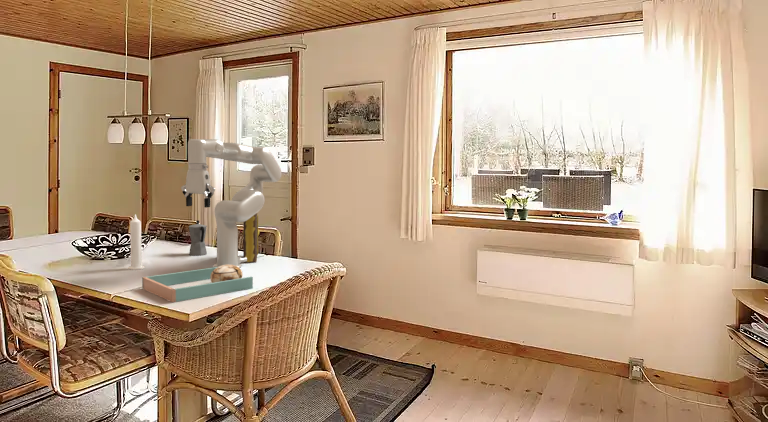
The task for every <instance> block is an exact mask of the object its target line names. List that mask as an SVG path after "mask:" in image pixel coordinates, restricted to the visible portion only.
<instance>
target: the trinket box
mask: <svg viewBox="0 0 768 422" xmlns="http://www.w3.org/2000/svg"><path fill="white" fill-rule="evenodd" d="M243 275H244V274H243V271H242V269H241V267H240V268H239V267H237V266H235V265H229V264H228V265H222V266H219V267H217V268H216V269H214V270H213V271H212V273H211V275H210V279H209V280H210V283H214V282H221V281H227V280H233V279H240V278H243Z"/></svg>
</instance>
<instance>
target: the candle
mask: <svg viewBox="0 0 768 422" xmlns="http://www.w3.org/2000/svg"><path fill="white" fill-rule="evenodd" d="M129 223H130V224H129V230H130V231H129V232H130V233H129V234H130V237H129V238H130V240H129V241H130V266H128V267H127V269H128V270H129V271H139V270H144V269H146V266H145V265H143V262H142V261H143V259H142V257H143V255H142V249H143V248H142V221H141V220H140V219H138V217H137V214H136V213H135V214H134V217H133V219H131V220H130V221H129Z"/></svg>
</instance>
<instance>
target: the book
mask: <svg viewBox="0 0 768 422" xmlns="http://www.w3.org/2000/svg"><path fill="white" fill-rule="evenodd" d="M242 228H243V229H242V235H243V238H242V239H243V248H242V249H243V250H242V251H243V255H242V256H243V257H242V258H245V257H246V258H247V261H245V262H243V263H244V264H255V263H257V261H258V255H259V236H260V230H259V214H258V212H257V213H256V214H255V215H253V216H252V217H251V218H250V219H248V220H247V221H245V222H243V227H242Z"/></svg>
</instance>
